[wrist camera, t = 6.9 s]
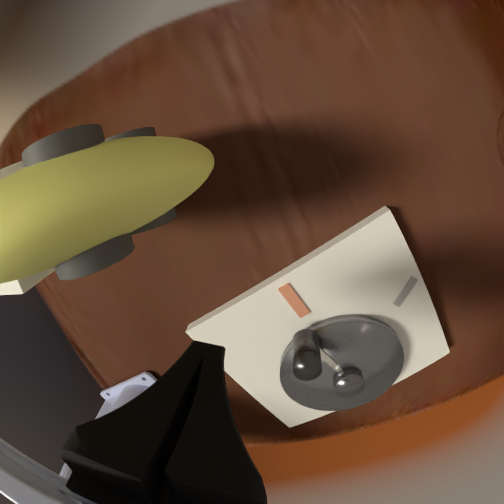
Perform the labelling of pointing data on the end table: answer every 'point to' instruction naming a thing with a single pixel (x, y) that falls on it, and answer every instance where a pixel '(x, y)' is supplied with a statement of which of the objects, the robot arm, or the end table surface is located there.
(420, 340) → the base plate
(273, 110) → the end table surface
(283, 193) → the end table surface
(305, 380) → the cam dial
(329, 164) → the end table surface
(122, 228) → the emoji
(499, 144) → the beer glass
